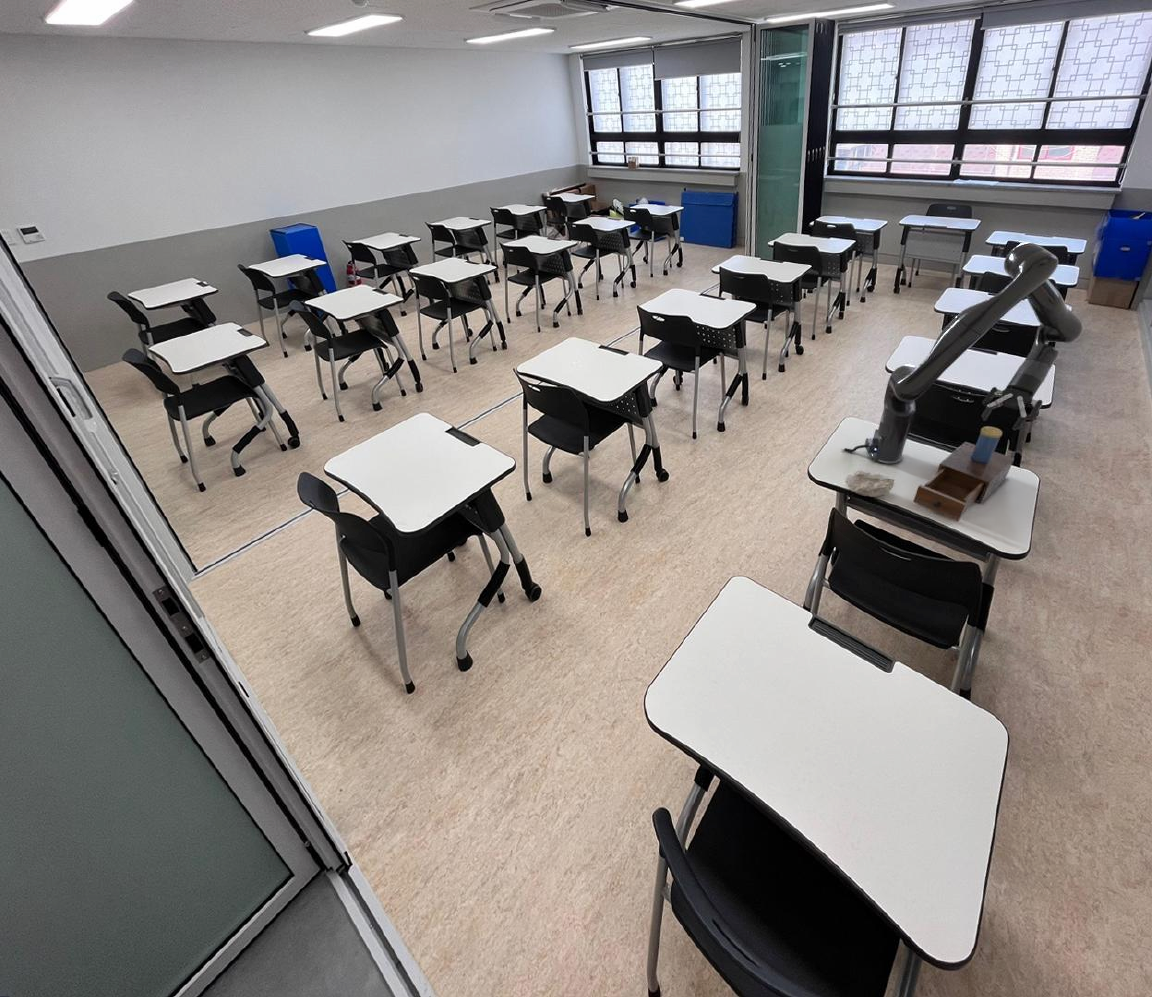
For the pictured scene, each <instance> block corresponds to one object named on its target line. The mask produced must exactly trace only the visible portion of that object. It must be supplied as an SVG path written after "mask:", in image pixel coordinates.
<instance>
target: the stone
mask: <svg viewBox="0 0 1152 997" xmlns="http://www.w3.org/2000/svg"><path fill="white" fill-rule="evenodd" d="M895 480H896V479H895V478H892V477H889V476H883V475H881V474H880V473H877V474H873V473H871V472H868V471H863V470H860V469H857V470H854V471H853V473H852V474H849V475H847V476H846V477H845V479H844V483H845V484H846V485H847V487H848V488H849V490H850V491H851V492H852V493H855V494H857V495H859V496H864V497H870V498H872V497H873V498H875V497H883V496H887V495H888V494H889V493H890V491H891V490H892V489H893V488H894V485H895Z"/></svg>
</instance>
